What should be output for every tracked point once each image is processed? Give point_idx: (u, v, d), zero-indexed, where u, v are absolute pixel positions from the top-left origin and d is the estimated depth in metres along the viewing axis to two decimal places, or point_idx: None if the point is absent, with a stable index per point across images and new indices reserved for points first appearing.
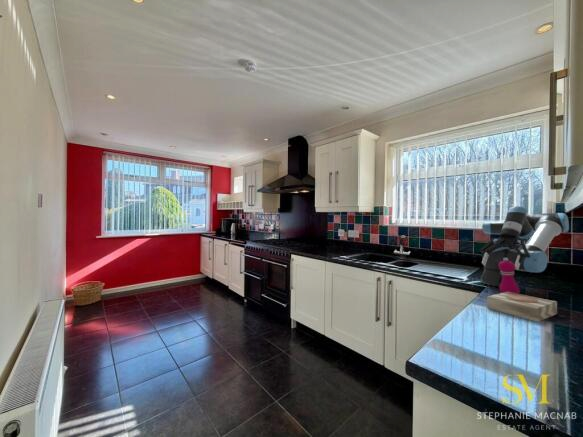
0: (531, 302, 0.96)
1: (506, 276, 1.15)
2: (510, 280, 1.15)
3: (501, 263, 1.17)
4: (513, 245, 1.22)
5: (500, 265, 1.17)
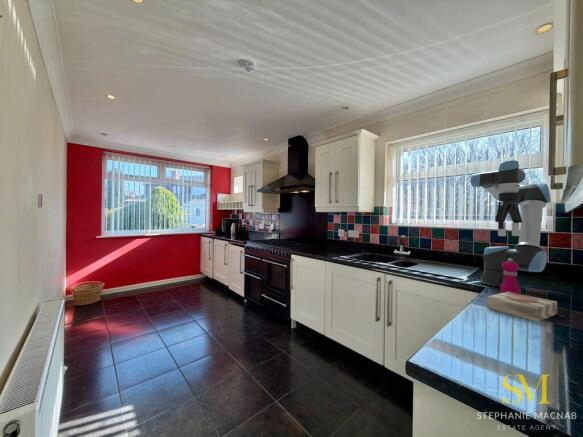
0: (531, 302, 0.96)
1: (508, 276, 1.16)
2: (512, 281, 1.15)
3: (505, 263, 1.17)
4: (516, 211, 1.19)
5: (504, 265, 1.17)
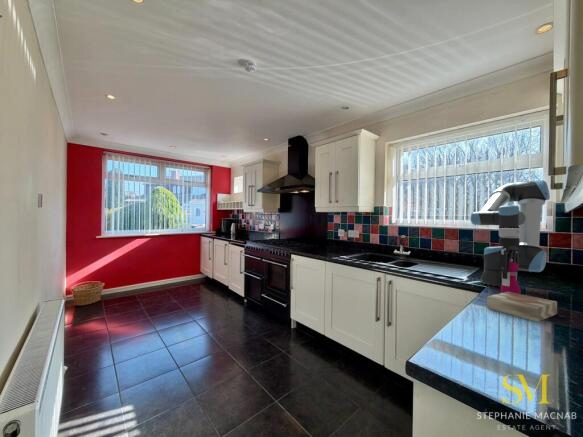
0: (531, 302, 0.96)
1: None
2: (512, 281, 1.15)
3: None
4: (515, 258, 1.17)
5: None
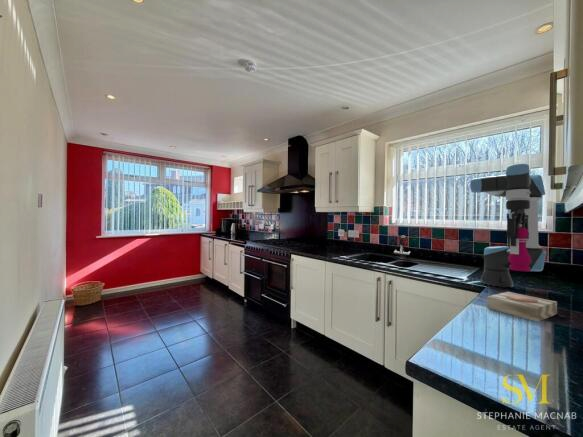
0: (531, 302, 0.96)
1: None
2: (521, 248, 1.02)
3: None
4: (524, 223, 1.04)
5: None
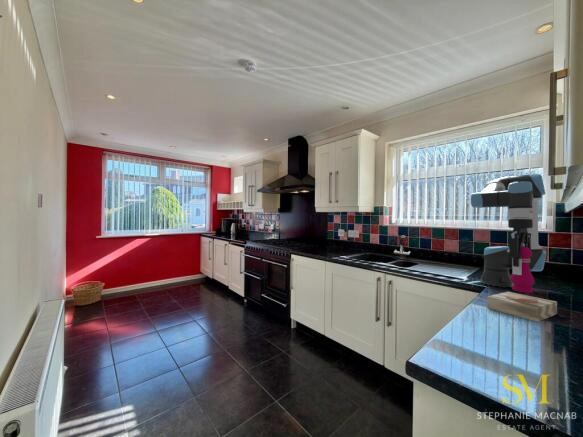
0: (531, 302, 0.96)
1: None
2: (524, 269, 0.99)
3: None
4: (527, 242, 1.01)
5: None
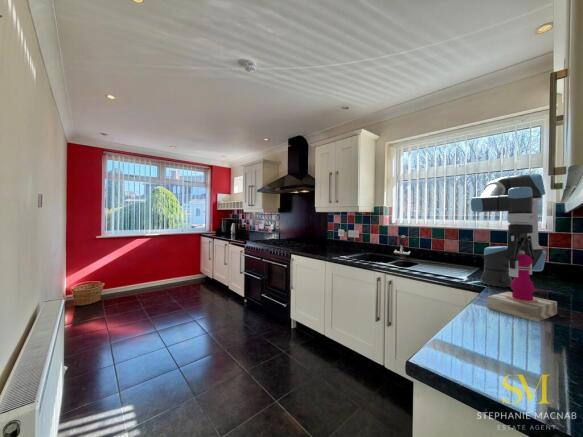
0: (531, 302, 0.96)
1: (520, 271, 1.00)
2: (524, 277, 0.99)
3: None
4: (528, 246, 1.02)
5: None
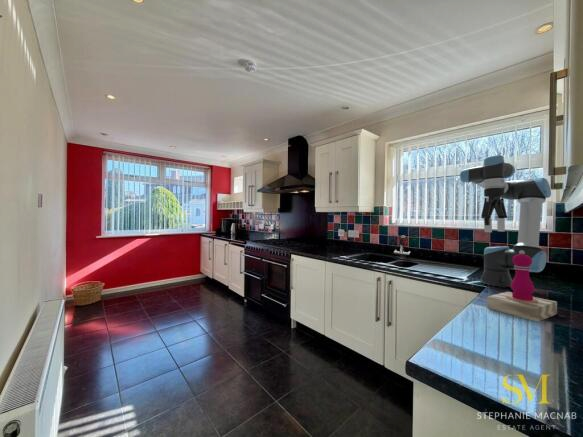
0: (531, 302, 0.96)
1: (520, 271, 1.00)
2: (524, 277, 0.99)
3: (516, 256, 1.01)
4: (501, 207, 1.17)
5: (515, 258, 1.01)
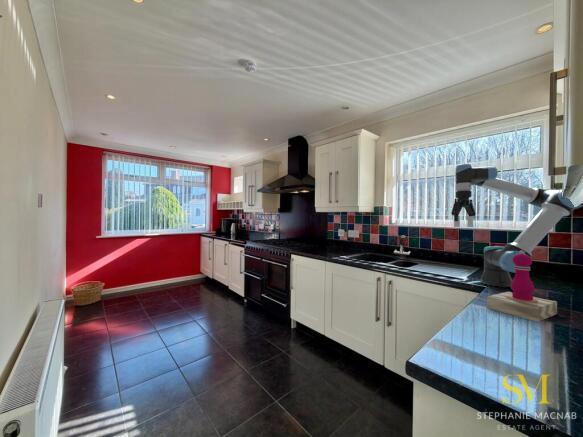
0: (531, 302, 0.96)
1: (520, 271, 1.00)
2: (524, 277, 0.99)
3: (516, 256, 1.01)
4: (469, 206, 1.41)
5: (515, 258, 1.01)
